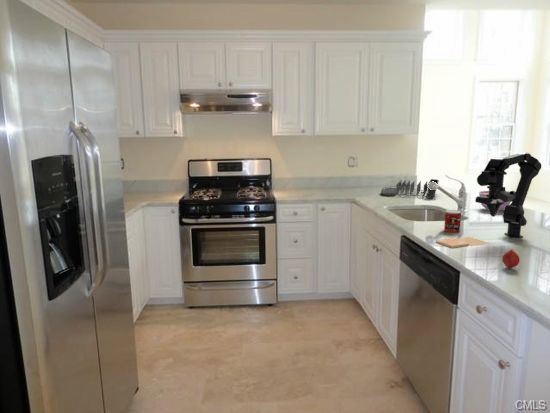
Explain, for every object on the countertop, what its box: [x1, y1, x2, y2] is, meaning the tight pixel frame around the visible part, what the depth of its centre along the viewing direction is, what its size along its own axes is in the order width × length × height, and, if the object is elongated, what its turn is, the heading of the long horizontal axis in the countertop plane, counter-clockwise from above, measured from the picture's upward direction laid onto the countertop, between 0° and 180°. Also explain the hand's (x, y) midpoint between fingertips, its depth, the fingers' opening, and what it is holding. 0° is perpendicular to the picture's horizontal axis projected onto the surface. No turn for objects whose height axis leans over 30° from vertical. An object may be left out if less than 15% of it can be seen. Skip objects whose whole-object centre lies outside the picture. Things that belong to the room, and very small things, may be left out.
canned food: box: [443, 209, 462, 233], centre depth 208 cm, size 8×8×11 cm
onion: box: [501, 248, 520, 269], centre depth 152 cm, size 6×6×8 cm
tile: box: [435, 237, 469, 249], centre depth 185 cm, size 2×10×10 cm
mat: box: [456, 236, 490, 247], centre depth 189 cm, size 12×12×1 cm
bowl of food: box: [478, 190, 511, 212], centre depth 260 cm, size 20×20×12 cm
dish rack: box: [380, 178, 440, 199], centre depth 326 cm, size 34×44×12 cm
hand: (493, 216), depth 189 cm, fingers closed
